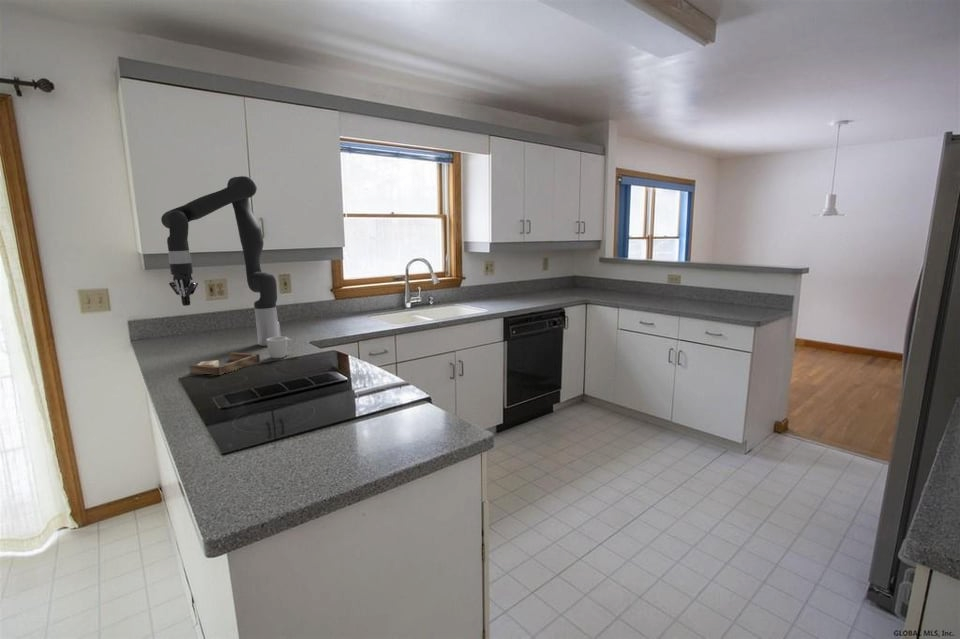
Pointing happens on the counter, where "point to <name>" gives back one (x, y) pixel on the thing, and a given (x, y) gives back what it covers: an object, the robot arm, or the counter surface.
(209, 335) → the counter surface
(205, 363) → the maple tile
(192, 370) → the wooden u-shaped bracket
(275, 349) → the cup
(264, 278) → the robot arm
